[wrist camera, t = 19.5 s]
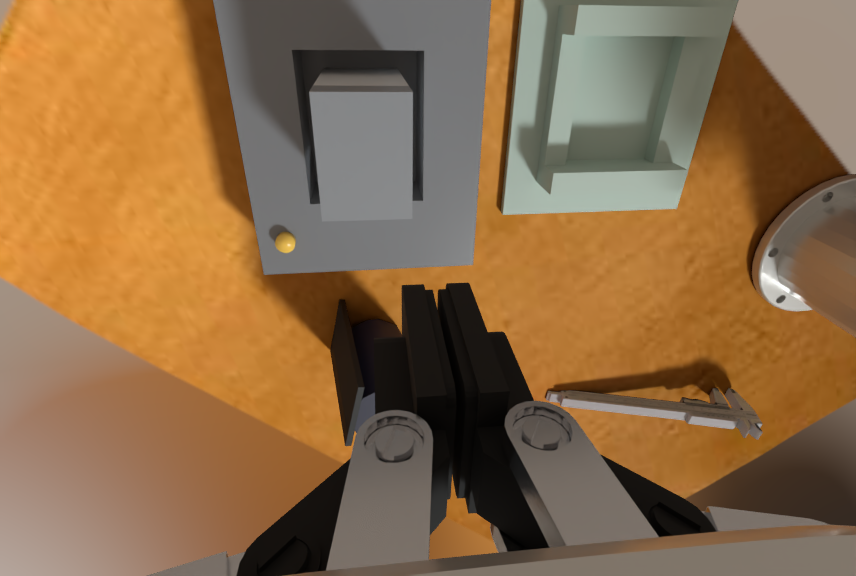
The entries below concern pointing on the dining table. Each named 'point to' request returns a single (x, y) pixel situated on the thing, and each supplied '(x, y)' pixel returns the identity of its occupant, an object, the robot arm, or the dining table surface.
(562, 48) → the pale green cradle tray
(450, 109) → the block
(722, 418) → the caliper
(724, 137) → the dining table surface
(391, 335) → the speaker
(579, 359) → the dining table surface
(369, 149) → the plug
